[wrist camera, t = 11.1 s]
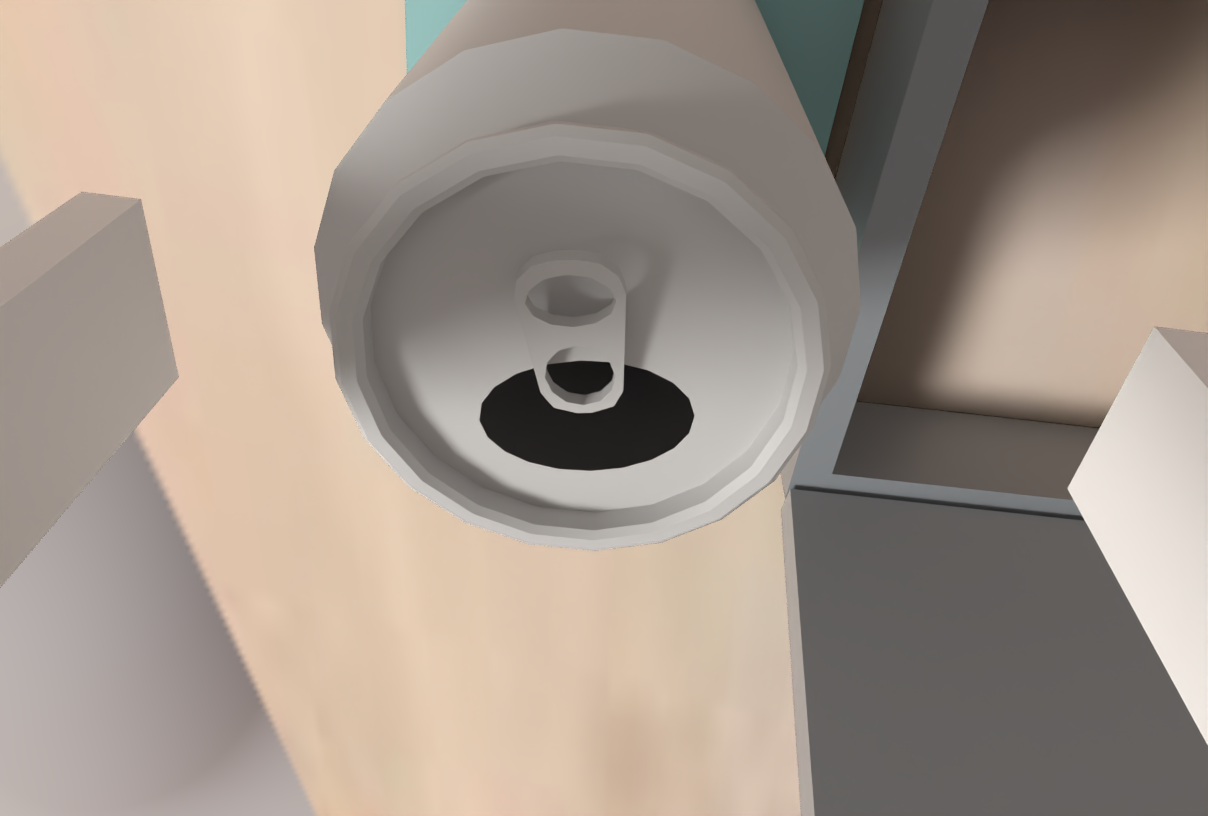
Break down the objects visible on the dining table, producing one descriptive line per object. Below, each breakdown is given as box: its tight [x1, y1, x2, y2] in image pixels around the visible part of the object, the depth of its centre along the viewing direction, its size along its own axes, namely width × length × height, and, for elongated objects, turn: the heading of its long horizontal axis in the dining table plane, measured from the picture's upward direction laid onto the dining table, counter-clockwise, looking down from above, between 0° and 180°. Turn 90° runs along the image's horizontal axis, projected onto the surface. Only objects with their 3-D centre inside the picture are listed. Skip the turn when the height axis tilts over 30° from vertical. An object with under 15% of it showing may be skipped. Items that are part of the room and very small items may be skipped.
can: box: [314, 0, 861, 551], centre depth 16 cm, size 8×8×12 cm
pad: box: [405, 0, 864, 157], centre depth 21 cm, size 10×10×1 cm
